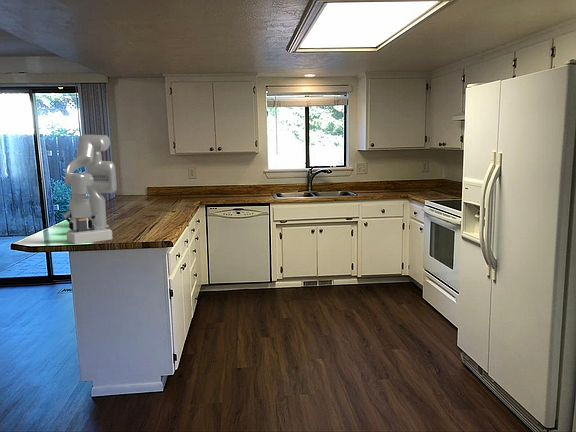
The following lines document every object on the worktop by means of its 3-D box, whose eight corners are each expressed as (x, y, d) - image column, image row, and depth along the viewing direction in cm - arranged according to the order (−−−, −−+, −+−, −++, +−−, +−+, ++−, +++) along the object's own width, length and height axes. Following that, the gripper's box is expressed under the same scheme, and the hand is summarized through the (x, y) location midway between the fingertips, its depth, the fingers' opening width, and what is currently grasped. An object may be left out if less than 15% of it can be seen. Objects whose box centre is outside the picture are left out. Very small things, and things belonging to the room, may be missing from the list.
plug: (76, 236, 247) (75, 214, 245) (84, 235, 250) (83, 213, 248) (80, 237, 243) (78, 215, 242) (87, 236, 246) (86, 214, 244)
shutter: (89, 229, 252) (88, 224, 252) (101, 228, 257) (101, 222, 257) (94, 231, 247) (94, 225, 246) (107, 230, 252) (106, 224, 251)
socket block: (67, 240, 247) (66, 230, 246) (103, 236, 261) (103, 226, 260) (74, 244, 238) (74, 233, 238) (112, 239, 252) (112, 229, 251)
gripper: (93, 195, 252) (94, 226, 254) (59, 197, 240) (61, 229, 242) (98, 196, 246) (99, 228, 249) (64, 198, 235) (66, 231, 237)
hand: (81, 228), depth 245 cm, fingers open, 9 cm apart
